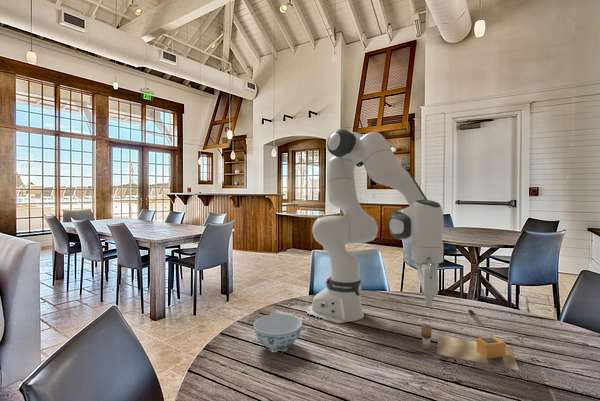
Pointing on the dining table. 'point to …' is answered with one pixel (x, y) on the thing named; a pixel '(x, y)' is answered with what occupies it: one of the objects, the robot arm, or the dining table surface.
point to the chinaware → (277, 331)
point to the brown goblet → (426, 336)
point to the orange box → (491, 347)
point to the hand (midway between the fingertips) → (426, 300)
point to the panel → (473, 352)
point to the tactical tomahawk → (475, 318)
